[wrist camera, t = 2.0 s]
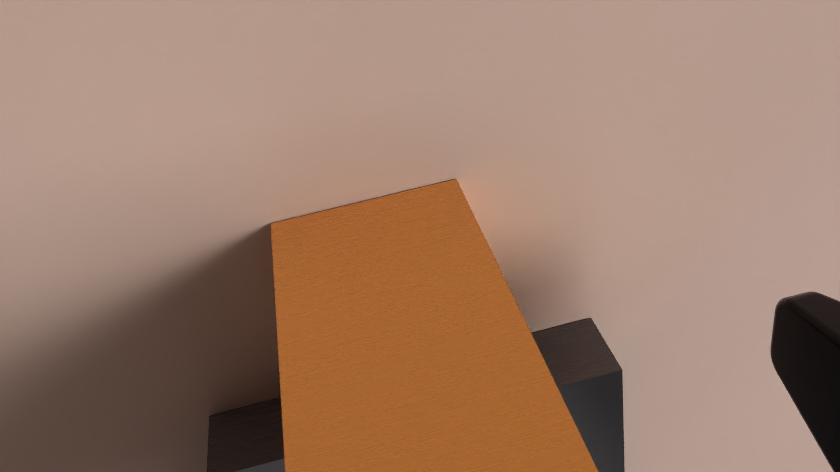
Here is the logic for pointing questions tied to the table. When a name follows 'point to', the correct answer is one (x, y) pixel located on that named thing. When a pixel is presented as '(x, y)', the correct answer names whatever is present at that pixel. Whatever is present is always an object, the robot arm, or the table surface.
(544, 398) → the orange grey l-shaped block
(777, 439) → the table surface
